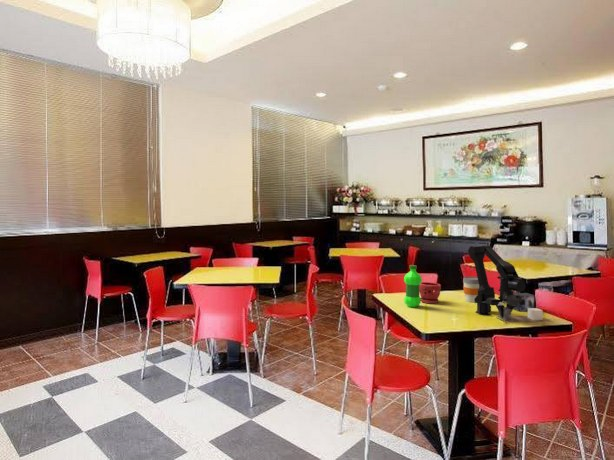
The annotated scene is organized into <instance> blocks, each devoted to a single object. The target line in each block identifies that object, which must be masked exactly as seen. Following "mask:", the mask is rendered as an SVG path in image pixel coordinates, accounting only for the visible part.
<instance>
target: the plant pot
mask: <svg viewBox="0 0 614 460" xmlns="http://www.w3.org/2000/svg"><path fill="white" fill-rule="evenodd" d="M441 287H442V285H441V284H440V283H436V282H431V281H430V282H428V281H426V282H425V281H423V282H421V283H420V286H419V297H420V299H421V302H422V303H424V304H437V303H438V302H439V301H440V299H439V297H440V296H441V295H440V294H441V289H442V288H441Z"/></svg>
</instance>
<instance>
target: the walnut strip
mask: <svg viewBox="0 0 614 460" xmlns="http://www.w3.org/2000/svg"><path fill="white" fill-rule="evenodd" d="M498 314H499V315H496V317H495V319H497V320H499V321H501V322H503V323H506V324H508V325H510V323H550V322H551V323H553V322H554V321H552V320H550V319H548V318H546V317H543V316H542V320H532V319H530V318H527V317H528V315H512V312H511V309H509V308H507V307H506V306H504V308H503V318H502V317H501V316H500V313H498Z"/></svg>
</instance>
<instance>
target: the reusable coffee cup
mask: <svg viewBox="0 0 614 460" xmlns="http://www.w3.org/2000/svg"><path fill="white" fill-rule="evenodd" d="M462 283H463V286H462V287H463V293H464V300H465V302H468V303H473V304H474V303H475V300H474V299H475V298H476V296H477V295H478V289H479V282H478V278H477V276H464V277H463V280H462ZM475 304H476V303H475Z"/></svg>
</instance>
